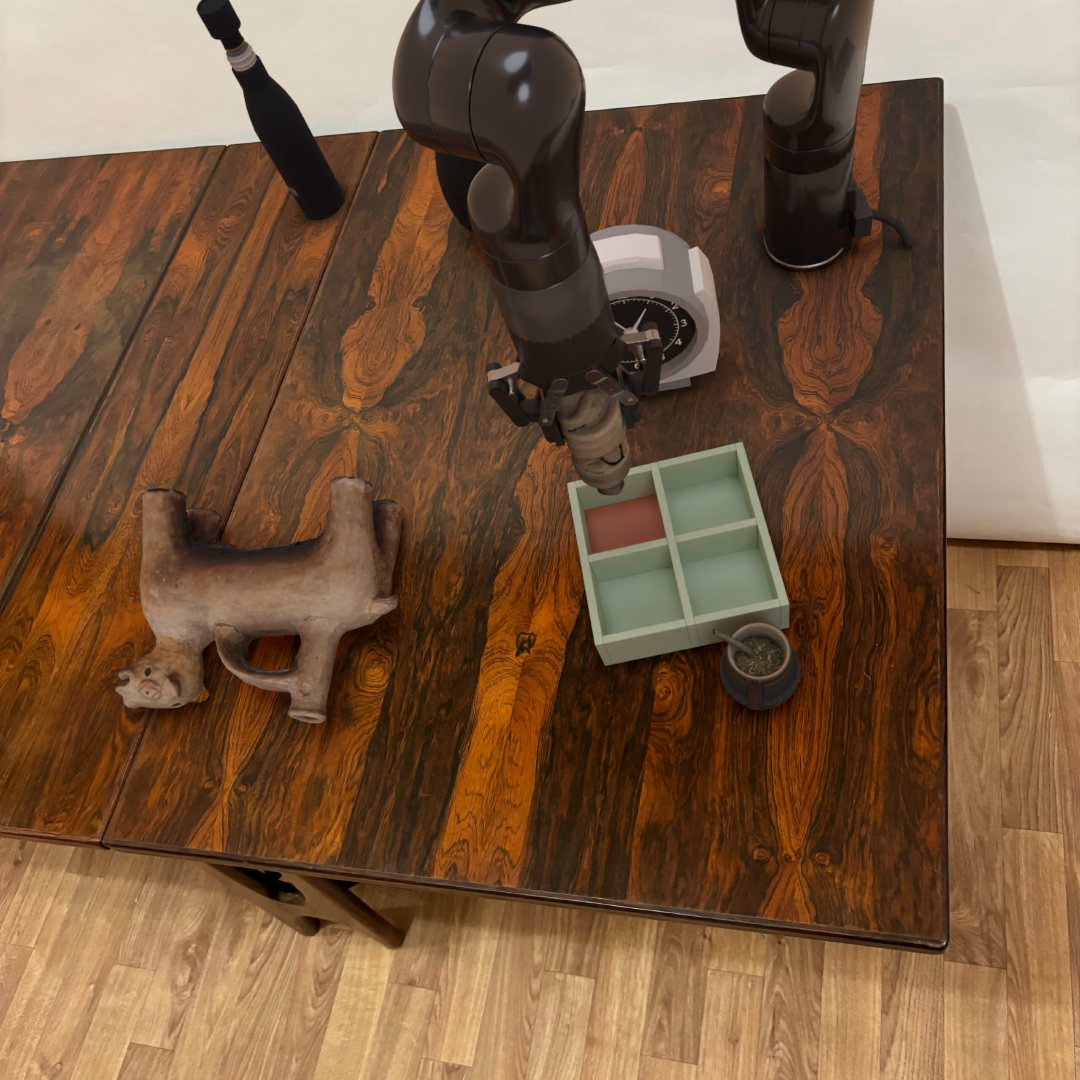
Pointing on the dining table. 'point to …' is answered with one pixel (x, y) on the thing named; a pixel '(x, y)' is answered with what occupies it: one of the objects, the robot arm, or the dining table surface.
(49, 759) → the dining table surface
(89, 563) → the dining table surface
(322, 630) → the ceramic vessel
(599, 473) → the grey-beige cylinder
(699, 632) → the divided tray
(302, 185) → the wine bottle
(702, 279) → the alarm clock
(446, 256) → the dining table surface
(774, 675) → the mate gourd
